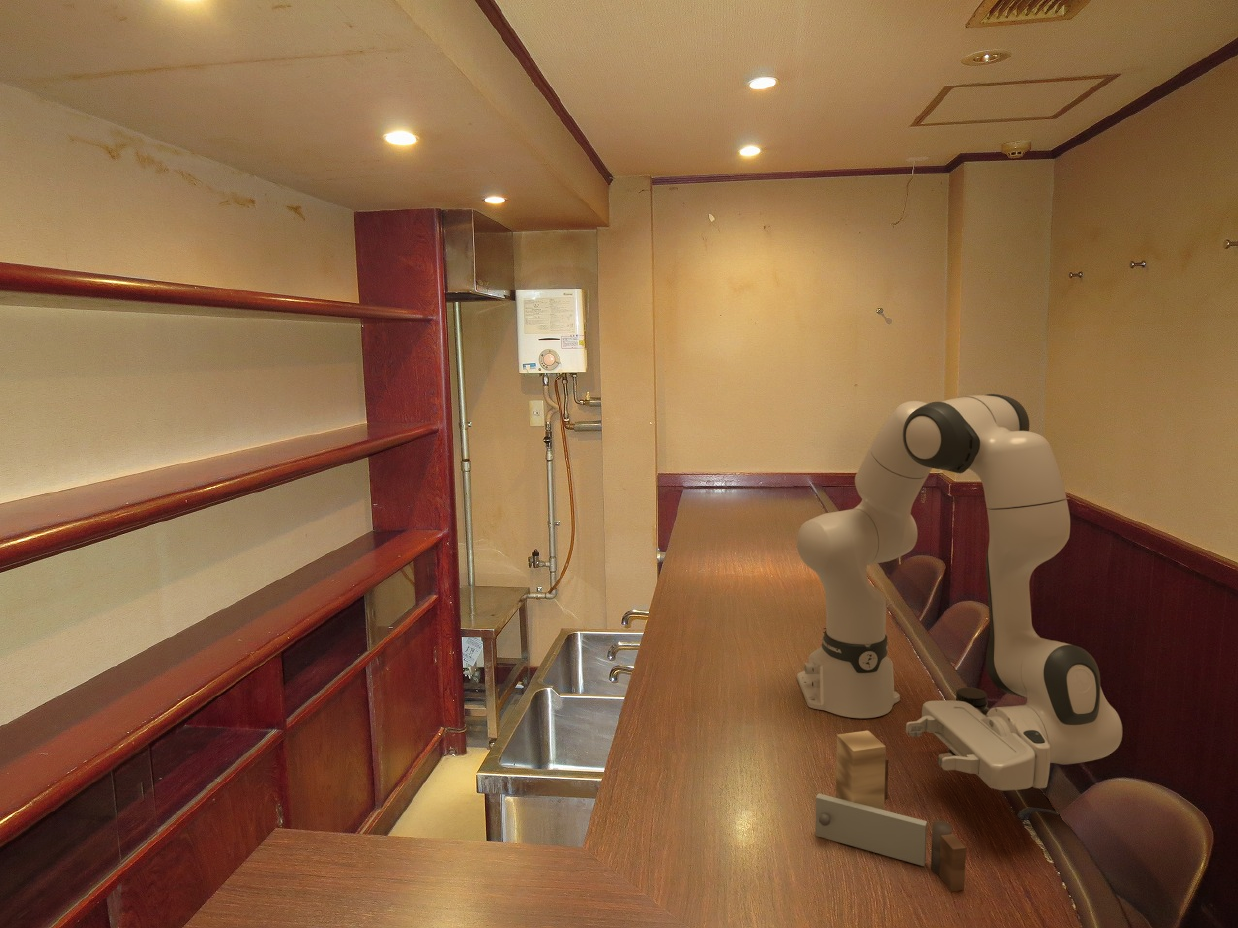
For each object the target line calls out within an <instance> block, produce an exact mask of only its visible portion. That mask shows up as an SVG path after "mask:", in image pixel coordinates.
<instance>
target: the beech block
mask: <svg viewBox="0 0 1238 928" xmlns="http://www.w3.org/2000/svg"><path fill="white" fill-rule="evenodd" d="M886 750H887V748H886V745H885V744H884V743H883V742H881V741H880V740H879V739H878V738H877V737H876V736H875V735H874V734H873V733H872V732H871V731H869V730H863V731H855V732H848V733H838V734H836V758H835V759H836V761H835V765H836V766H835V767H836V768H835V798H839V799H842V800H846V801H850V802H854V803H858V804H862V805H866V806H870V807H873V808H877V809H881V810H885V798H884V795H885V758H886V757H887V755H886V752H887V751H886Z"/></svg>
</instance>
